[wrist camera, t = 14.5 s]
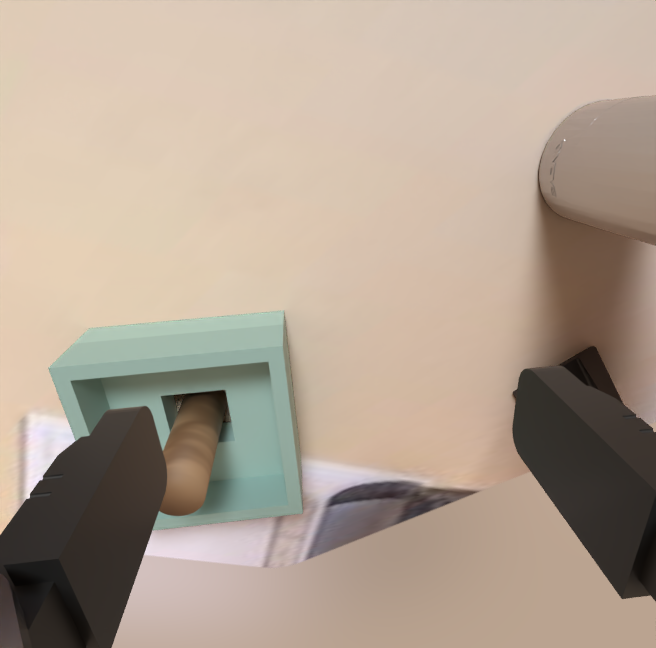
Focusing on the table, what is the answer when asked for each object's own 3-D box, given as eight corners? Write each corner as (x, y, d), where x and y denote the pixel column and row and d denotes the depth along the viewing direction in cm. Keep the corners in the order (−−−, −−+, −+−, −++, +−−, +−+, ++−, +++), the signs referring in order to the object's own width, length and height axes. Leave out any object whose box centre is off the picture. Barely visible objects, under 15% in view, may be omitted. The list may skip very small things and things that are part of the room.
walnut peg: (223, 380, 41) (199, 470, 30) (230, 415, 42) (210, 512, 31) (180, 384, 41) (141, 476, 30) (189, 419, 42) (154, 519, 31)
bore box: (283, 310, 38) (282, 346, 32) (301, 460, 45) (302, 513, 39) (89, 328, 38) (48, 368, 31) (137, 477, 45) (111, 535, 38)
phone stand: (533, 429, 46) (609, 521, 35) (511, 391, 44) (584, 477, 33) (612, 386, 45) (716, 468, 34) (593, 345, 43) (698, 418, 32)
